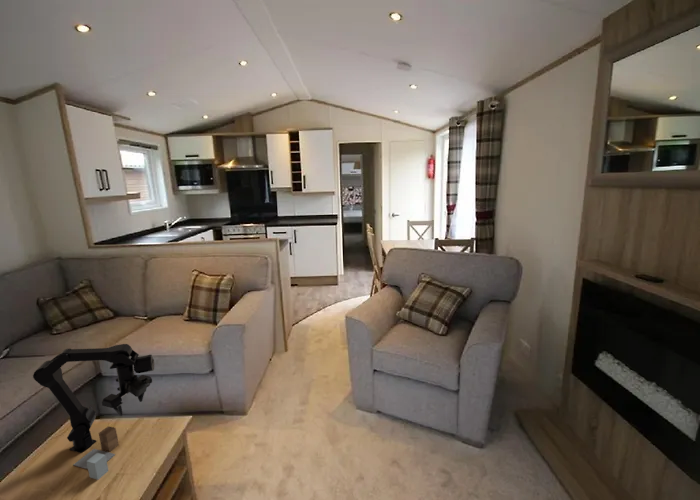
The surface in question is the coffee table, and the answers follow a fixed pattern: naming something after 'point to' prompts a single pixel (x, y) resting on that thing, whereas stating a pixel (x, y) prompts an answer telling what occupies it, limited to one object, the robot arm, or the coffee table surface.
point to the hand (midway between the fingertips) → (131, 408)
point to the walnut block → (108, 439)
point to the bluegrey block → (97, 466)
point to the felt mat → (82, 461)
